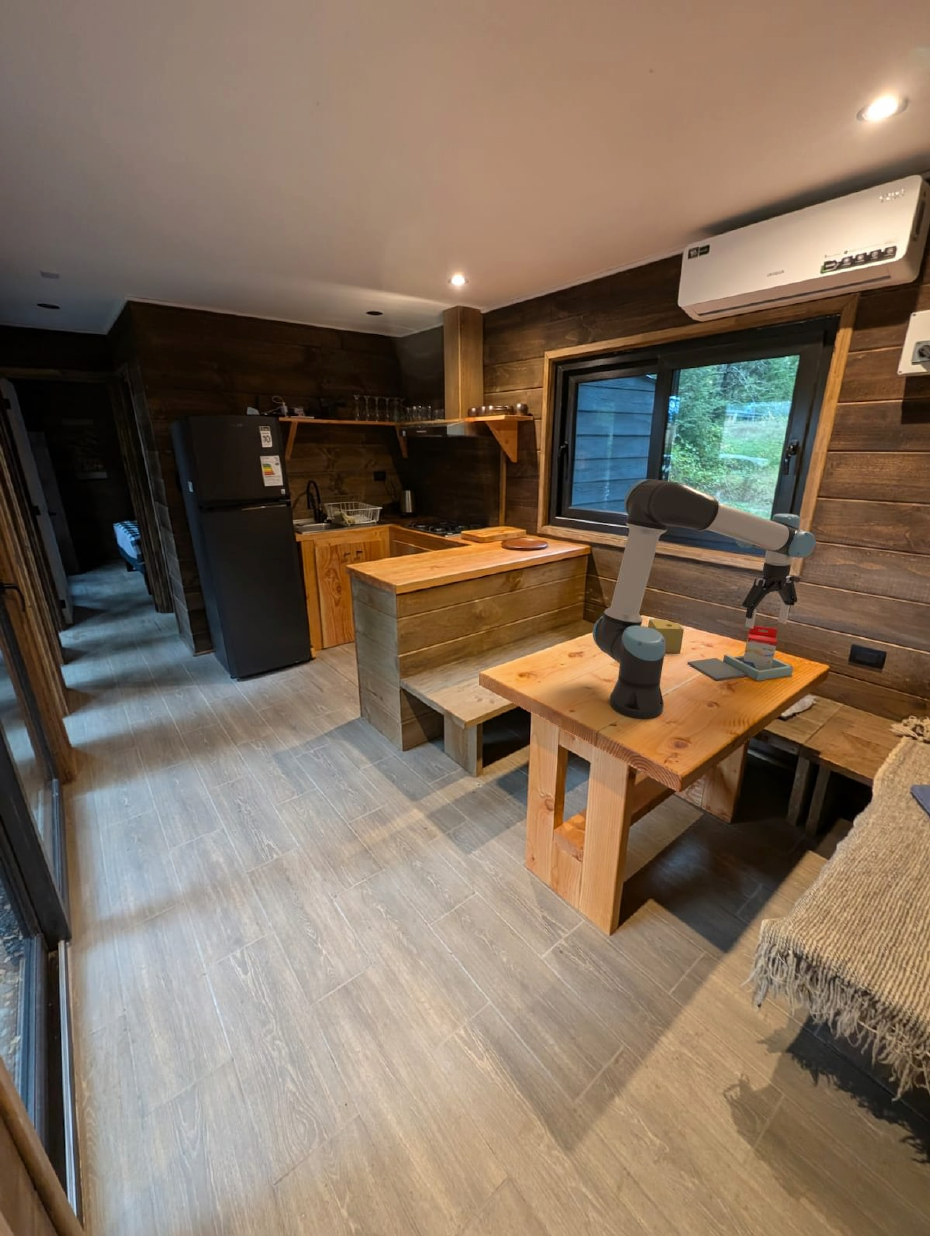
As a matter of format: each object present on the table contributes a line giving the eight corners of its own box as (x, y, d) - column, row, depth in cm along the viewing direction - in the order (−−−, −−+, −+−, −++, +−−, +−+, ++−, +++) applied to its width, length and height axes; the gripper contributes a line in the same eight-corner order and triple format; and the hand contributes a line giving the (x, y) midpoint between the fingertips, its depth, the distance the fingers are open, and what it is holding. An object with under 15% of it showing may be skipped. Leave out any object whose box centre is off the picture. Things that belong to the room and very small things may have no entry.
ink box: (742, 668, 173) (749, 629, 168) (742, 663, 177) (749, 624, 173) (770, 673, 170) (779, 633, 165) (769, 668, 174) (778, 628, 169)
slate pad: (716, 680, 165) (716, 678, 164) (687, 663, 177) (687, 661, 177) (746, 676, 168) (746, 674, 168) (715, 659, 181) (716, 657, 180)
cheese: (673, 643, 196) (676, 619, 193) (681, 654, 186) (685, 628, 183) (645, 642, 197) (648, 618, 194) (652, 653, 187) (655, 628, 184)
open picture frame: (757, 680, 165) (758, 672, 164) (722, 662, 178) (724, 654, 177) (791, 675, 168) (793, 667, 167) (755, 657, 182) (757, 650, 181)
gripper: (755, 568, 155) (743, 632, 162) (818, 562, 161) (804, 624, 168) (736, 563, 161) (726, 625, 169) (798, 557, 168) (785, 617, 175)
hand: (765, 625), depth 168 cm, fingers open, 13 cm apart
